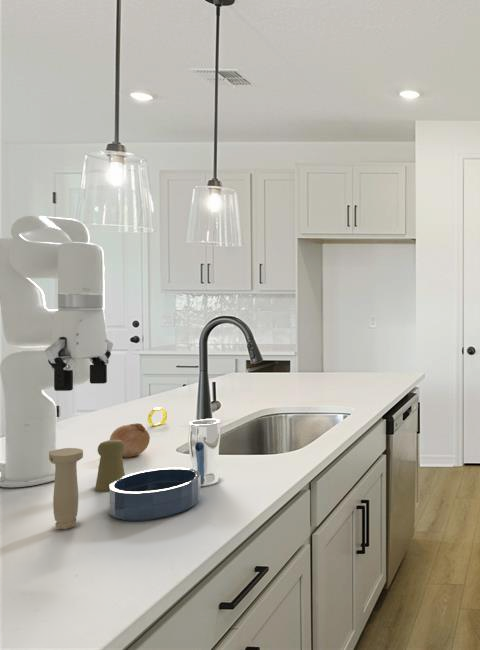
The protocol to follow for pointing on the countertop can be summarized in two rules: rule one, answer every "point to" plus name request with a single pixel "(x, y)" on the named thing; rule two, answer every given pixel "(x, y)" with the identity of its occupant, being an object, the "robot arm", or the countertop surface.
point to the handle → (65, 486)
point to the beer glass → (205, 449)
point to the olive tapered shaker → (109, 464)
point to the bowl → (154, 494)
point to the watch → (153, 412)
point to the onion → (132, 439)
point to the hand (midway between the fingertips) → (81, 386)
